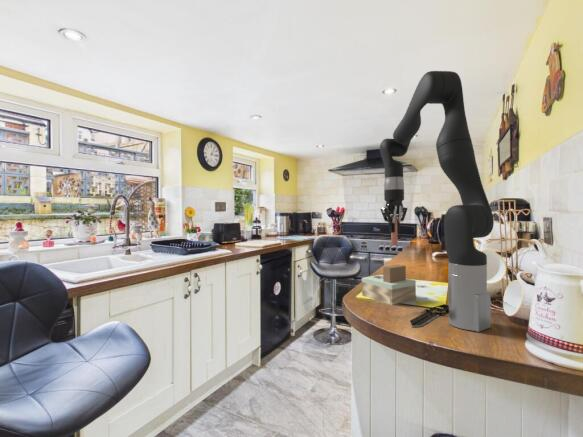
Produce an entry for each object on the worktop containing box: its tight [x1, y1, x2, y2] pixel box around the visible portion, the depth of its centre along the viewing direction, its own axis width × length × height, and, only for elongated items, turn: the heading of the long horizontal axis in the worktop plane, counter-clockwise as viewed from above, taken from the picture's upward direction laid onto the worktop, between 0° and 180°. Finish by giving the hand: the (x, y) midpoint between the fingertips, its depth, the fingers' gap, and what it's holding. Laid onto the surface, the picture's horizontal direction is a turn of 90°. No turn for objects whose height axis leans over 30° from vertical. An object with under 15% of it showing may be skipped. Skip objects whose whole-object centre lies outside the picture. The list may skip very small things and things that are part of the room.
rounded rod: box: [390, 214, 399, 246], centre depth 124 cm, size 2×2×12 cm
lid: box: [361, 264, 417, 290], centre depth 111 cm, size 14×12×6 cm
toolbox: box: [361, 281, 417, 306], centre depth 111 cm, size 14×12×6 cm
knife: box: [409, 303, 449, 328], centre depth 94 cm, size 25×6×1 cm, turn 129°
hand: (394, 232), depth 124 cm, fingers closed on rounded rod, 2 cm apart
